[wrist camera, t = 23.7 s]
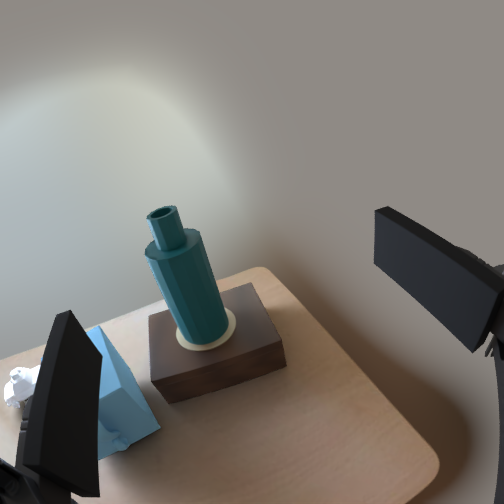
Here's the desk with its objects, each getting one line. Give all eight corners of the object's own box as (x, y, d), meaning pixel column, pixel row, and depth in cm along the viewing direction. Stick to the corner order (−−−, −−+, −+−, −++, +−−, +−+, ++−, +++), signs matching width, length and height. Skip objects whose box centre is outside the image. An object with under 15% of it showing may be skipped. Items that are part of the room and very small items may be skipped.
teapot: (175, 447, 30) (120, 394, 23) (110, 480, 26) (40, 436, 19) (124, 353, 47) (86, 294, 40) (77, 379, 42) (33, 325, 35)
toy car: (13, 393, 39) (-7, 372, 35) (52, 373, 44) (32, 349, 40) (14, 414, 34) (-9, 392, 31) (54, 393, 39) (32, 370, 36)
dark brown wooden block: (257, 308, 51) (250, 281, 48) (286, 366, 40) (281, 338, 36) (161, 339, 49) (147, 314, 46) (168, 404, 37) (150, 380, 34)
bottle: (223, 304, 44) (188, 194, 35) (234, 335, 38) (194, 213, 29) (180, 318, 43) (135, 212, 34) (185, 351, 37) (130, 234, 28)
